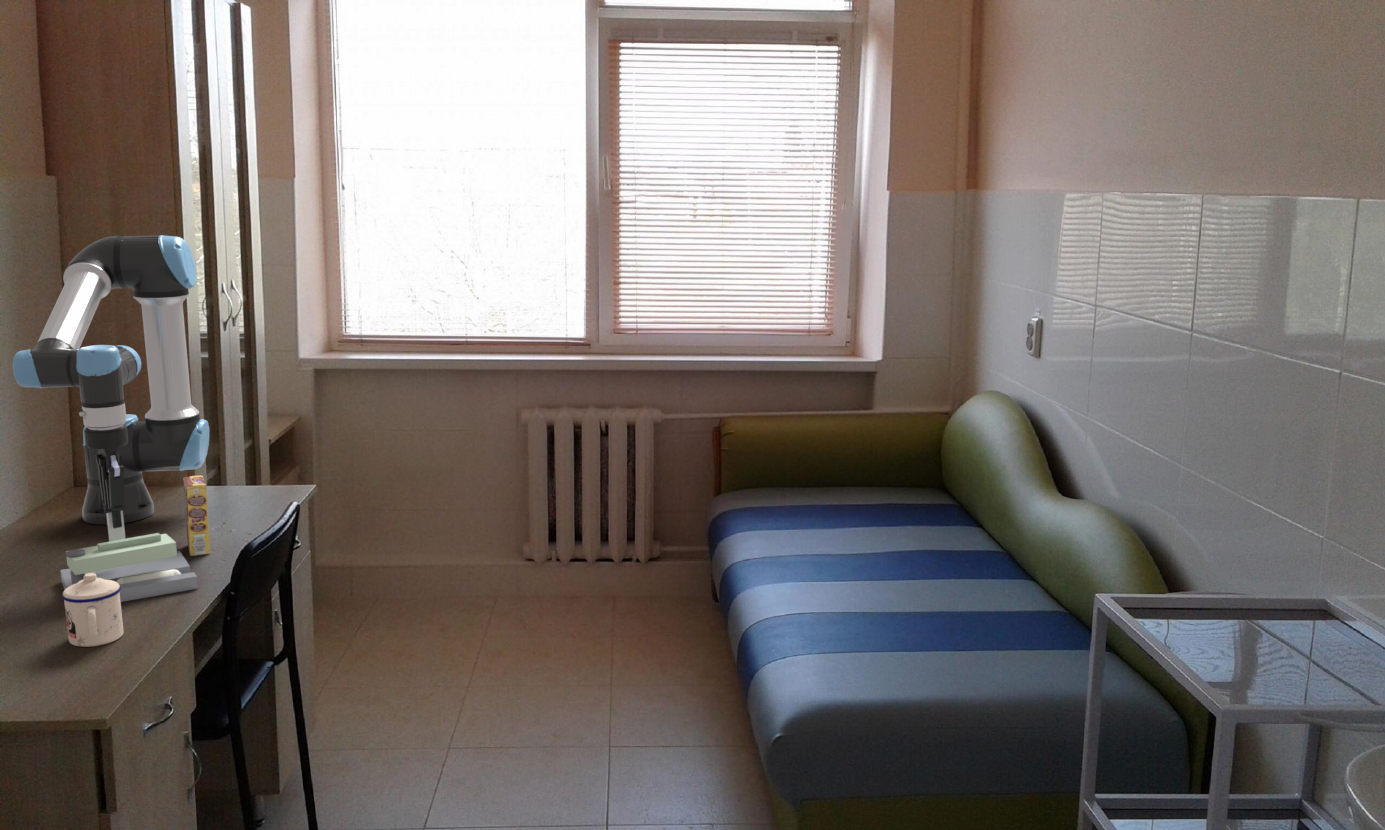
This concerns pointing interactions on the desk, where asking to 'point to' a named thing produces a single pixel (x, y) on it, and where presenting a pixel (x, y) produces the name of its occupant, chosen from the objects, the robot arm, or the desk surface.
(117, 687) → the desk surface
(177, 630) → the desk surface
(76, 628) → the teacup with lid
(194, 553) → the candy box
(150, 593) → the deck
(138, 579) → the white rounded rod
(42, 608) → the desk surface
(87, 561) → the cover
